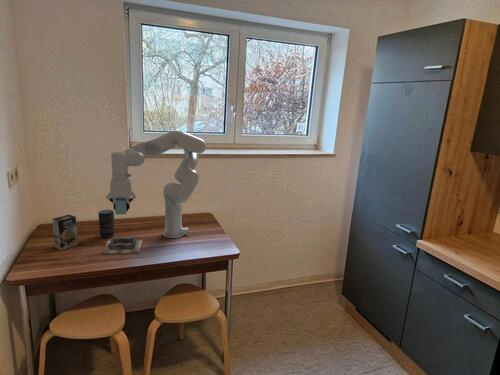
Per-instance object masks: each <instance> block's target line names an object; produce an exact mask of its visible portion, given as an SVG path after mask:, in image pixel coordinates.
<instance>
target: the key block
mask: <svg viewBox="0 0 500 375" xmlns="http://www.w3.org/2000/svg"><path fill="white" fill-rule="evenodd" d="M126 204H127V201H126V198H122V199H116V200H115V209H114V212H115V215H117V216H118V215H127V213H128V211H127V209H126Z"/></svg>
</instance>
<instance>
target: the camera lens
mask: <svg viewBox="0 0 500 375" xmlns="http://www.w3.org/2000/svg"><path fill="white" fill-rule="evenodd" d="M98 221H99V224H98V225H99V235H100V237H101V239H110V238H111V239H112V238H114V236H115V230H116V229H115V210H114V209H103V210H99V211H98Z"/></svg>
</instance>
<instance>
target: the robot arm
mask: <svg viewBox="0 0 500 375" xmlns="http://www.w3.org/2000/svg"><path fill="white" fill-rule="evenodd" d="M175 147H179V148H182V149H183V152H184V155H183V158H182V161H181V162H180V163H179V166H178V167H177V169H176V171H175V173H174V179H175V181H177V182H179V183H180V184H179V183H176V182H168V183H166V184H165V185H164V187H163V198H164V213H165V214H164V216H165V217H164V221H165V222H164V224H165V225H164V229H165V230H163V232H162V236H163V237H164V238H166V239H178V238H181V237H183V236H184V235H185V232H186V233H190V228H188V227H184V226H183V224H182V223H183V220H182V218H183V217H182V215H183V206H182V205H183V204H185V203H186V202H187V201H188V200H189V199H190V197H191V196H192V194H193V192H194V190H195V188H196V187H197V185H198V184H199V178H200V177H199V174H198V172H197V171H196V170H195V169H196V167H197V165H198V162H199V154H203V153H204V152H205V151H206V149H207V145H206V141H205V140H203V139H202V138H200V137H197V136H194V135H192V134H190V133H187V132H185V131H182V130H176V129H175V130H171V131H168V132H167V133H164V134H163V135H160V136H158V137H156V138H154V139H150V140H147V141H144V142H140V143H137V144H135V145H133V146H130V147H128V148H126V149H125V150H124V151H114V152H111V158H110V159H111V176H112V178H110V183H109V184H110V186H109V192H108V194H107V195H106V196H105V199H107V200H108V201H109V202H110V203H112V204H113V210H115V200H116V199H122V198H126V201H127V204H126V209H127V212H129V210H130V209H131V208H130V206H131V204H130V203H131V202H132V201H133V200H135V199H136V198H137V195H136V194H135V193H134V192H133V191H132V189H133V188H132V181H131V177H132V174H131V173H129V167H140V166H142V165H143V164H144V163H145V161H146V160H145V159H146V158H145V157H146V156H151V155H153V156H156V155H161V154H164V153H165V152H168V151H169V150H172V149H173V148H175Z"/></svg>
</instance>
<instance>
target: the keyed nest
mask: <svg viewBox="0 0 500 375" xmlns="http://www.w3.org/2000/svg"><path fill="white" fill-rule="evenodd" d="M142 244H143V239H137V237H111V239H110V240H107V242H106V244H105V246H104V248H103V250H102V255H104V254H106V255H107V254H109V255H110V254H133V253H134V254H136V253H137V254H138V253H140V251H141V248H142Z"/></svg>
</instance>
